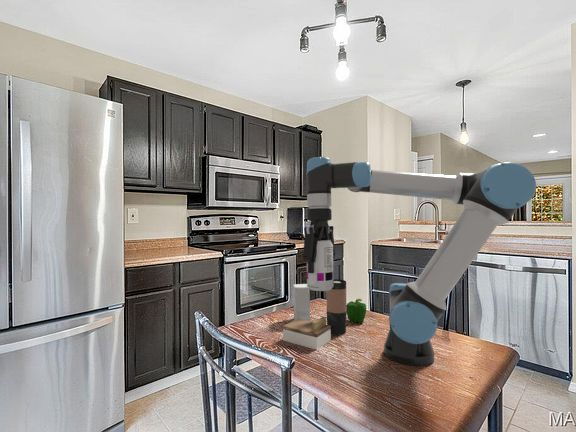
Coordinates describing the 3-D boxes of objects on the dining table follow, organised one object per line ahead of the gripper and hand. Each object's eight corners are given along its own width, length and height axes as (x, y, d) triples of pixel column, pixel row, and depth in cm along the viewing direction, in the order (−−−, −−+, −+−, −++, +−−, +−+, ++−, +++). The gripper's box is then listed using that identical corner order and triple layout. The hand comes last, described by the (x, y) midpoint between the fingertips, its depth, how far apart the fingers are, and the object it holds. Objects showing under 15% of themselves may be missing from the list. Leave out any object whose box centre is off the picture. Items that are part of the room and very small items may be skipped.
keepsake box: (330, 341, 112) (330, 329, 112) (317, 350, 104) (317, 337, 104) (298, 333, 120) (298, 321, 120) (283, 341, 112) (283, 329, 112)
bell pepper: (342, 320, 136) (342, 297, 136) (356, 317, 140) (356, 294, 140) (354, 325, 129) (354, 301, 129) (369, 322, 133) (369, 299, 133)
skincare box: (310, 324, 130) (310, 287, 130) (294, 325, 129) (294, 287, 129) (307, 318, 138) (307, 283, 138) (292, 318, 138) (292, 283, 138)
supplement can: (311, 292, 92) (310, 241, 92) (304, 286, 100) (303, 239, 100) (337, 290, 93) (336, 240, 94) (328, 285, 101) (327, 239, 102)
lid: (330, 327, 112) (330, 317, 112) (317, 336, 104) (317, 325, 104) (298, 320, 120) (298, 310, 120) (283, 328, 112) (283, 317, 112)
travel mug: (350, 334, 119) (350, 282, 119) (332, 337, 116) (332, 283, 116) (339, 328, 126) (339, 278, 126) (323, 330, 123) (323, 279, 123)
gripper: (325, 209, 107) (326, 275, 107) (289, 207, 91) (290, 285, 90) (345, 208, 103) (346, 277, 103) (311, 206, 86) (312, 288, 86)
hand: (320, 281), depth 97 cm, fingers closed on supplement can, 8 cm apart
